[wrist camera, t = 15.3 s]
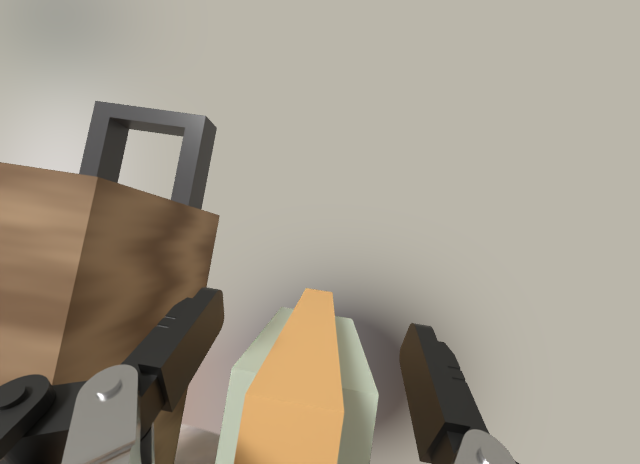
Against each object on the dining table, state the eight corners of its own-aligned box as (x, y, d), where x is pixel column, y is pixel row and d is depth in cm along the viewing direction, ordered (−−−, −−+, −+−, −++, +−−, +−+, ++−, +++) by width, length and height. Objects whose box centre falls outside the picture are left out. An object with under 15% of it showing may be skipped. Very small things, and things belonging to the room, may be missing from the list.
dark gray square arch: (187, 208, 20) (205, 115, 20) (75, 190, 20) (95, 101, 21) (200, 211, 22) (216, 127, 22) (98, 196, 22) (115, 114, 23)
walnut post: (-101, 1077, 8) (97, 176, 11) (-402, 980, 9) (-155, 139, 11) (149, 593, 20) (219, 215, 23) (14, 563, 21) (95, 196, 23)
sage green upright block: (329, 761, 15) (378, 394, 16) (170, 722, 15) (231, 368, 17) (328, 481, 33) (352, 318, 34) (255, 467, 33) (281, 307, 35)
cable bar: (328, 519, 8) (344, 411, 8) (227, 499, 8) (245, 393, 9) (328, 319, 32) (332, 292, 32) (301, 314, 32) (306, 288, 33)
